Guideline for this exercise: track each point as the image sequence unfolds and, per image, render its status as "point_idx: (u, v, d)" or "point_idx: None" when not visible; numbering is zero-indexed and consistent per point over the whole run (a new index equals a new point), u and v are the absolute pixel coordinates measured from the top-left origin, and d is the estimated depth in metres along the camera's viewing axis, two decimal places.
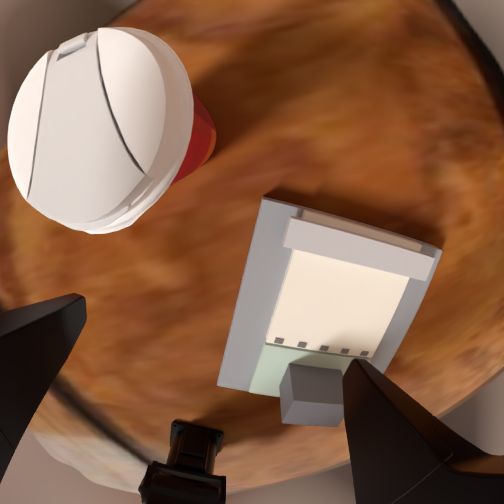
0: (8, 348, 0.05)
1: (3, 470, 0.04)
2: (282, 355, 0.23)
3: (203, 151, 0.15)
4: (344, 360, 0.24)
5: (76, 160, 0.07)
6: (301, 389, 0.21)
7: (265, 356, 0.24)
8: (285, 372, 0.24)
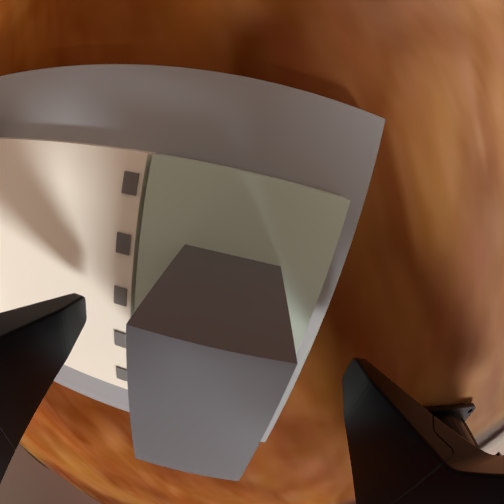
0: (8, 348, 0.05)
1: (2, 470, 0.04)
2: None
3: None
4: (150, 240, 0.09)
5: None
6: None
7: None
8: None
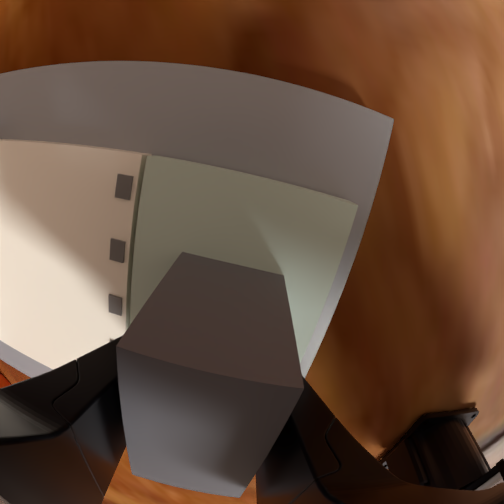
0: (107, 396, 0.05)
1: None
2: None
3: None
4: (145, 247, 0.08)
5: None
6: None
7: None
8: None
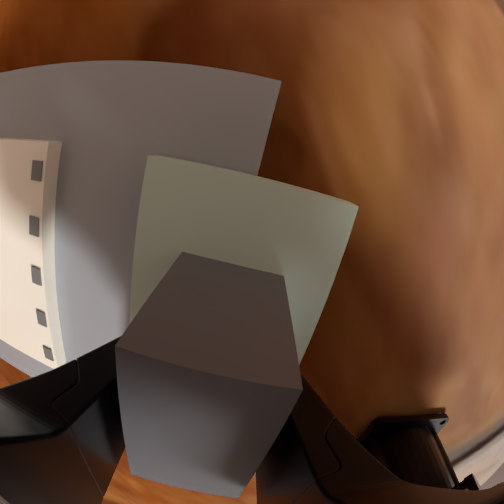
0: (107, 395, 0.05)
1: None
2: None
3: None
4: (145, 247, 0.08)
5: None
6: None
7: None
8: None
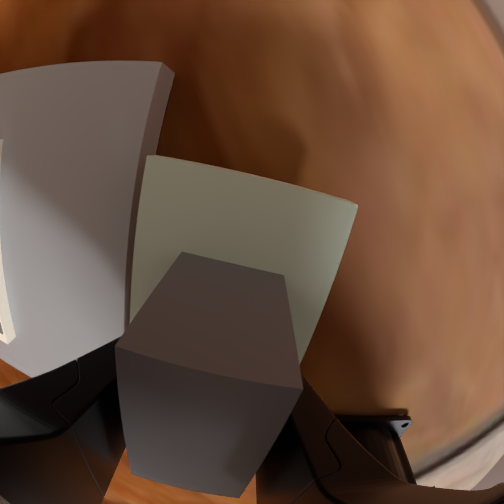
0: (107, 395, 0.05)
1: None
2: None
3: None
4: (145, 247, 0.08)
5: None
6: None
7: None
8: None
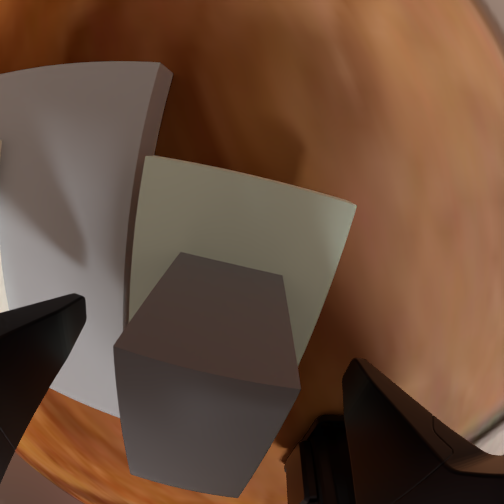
0: (8, 348, 0.05)
1: (3, 470, 0.04)
2: None
3: None
4: (144, 247, 0.08)
5: None
6: None
7: None
8: None
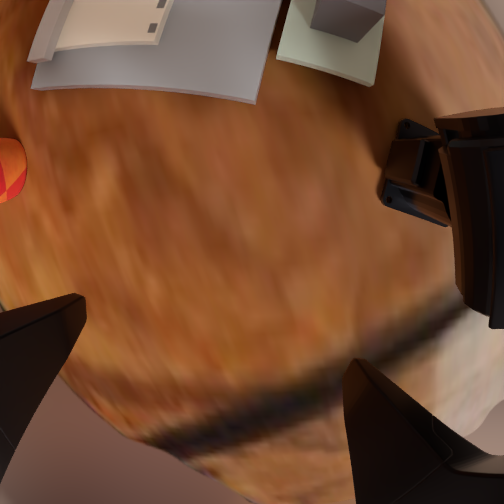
0: (8, 348, 0.05)
1: (3, 470, 0.04)
2: (295, 34, 0.13)
3: None
4: None
5: None
6: None
7: (298, 55, 0.14)
8: (326, 31, 0.13)
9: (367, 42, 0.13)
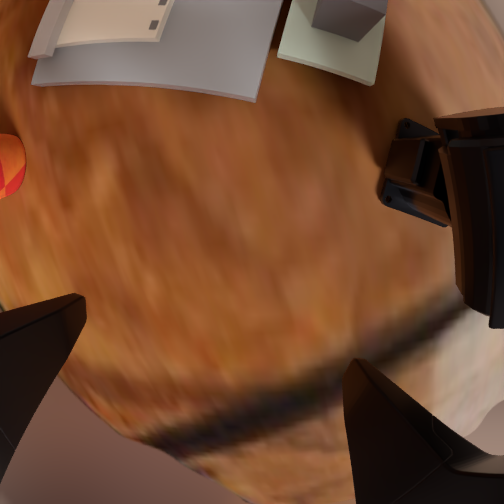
0: (8, 348, 0.05)
1: (2, 470, 0.04)
2: (296, 33, 0.13)
3: None
4: None
5: None
6: None
7: (299, 53, 0.14)
8: (327, 30, 0.13)
9: (368, 41, 0.13)
